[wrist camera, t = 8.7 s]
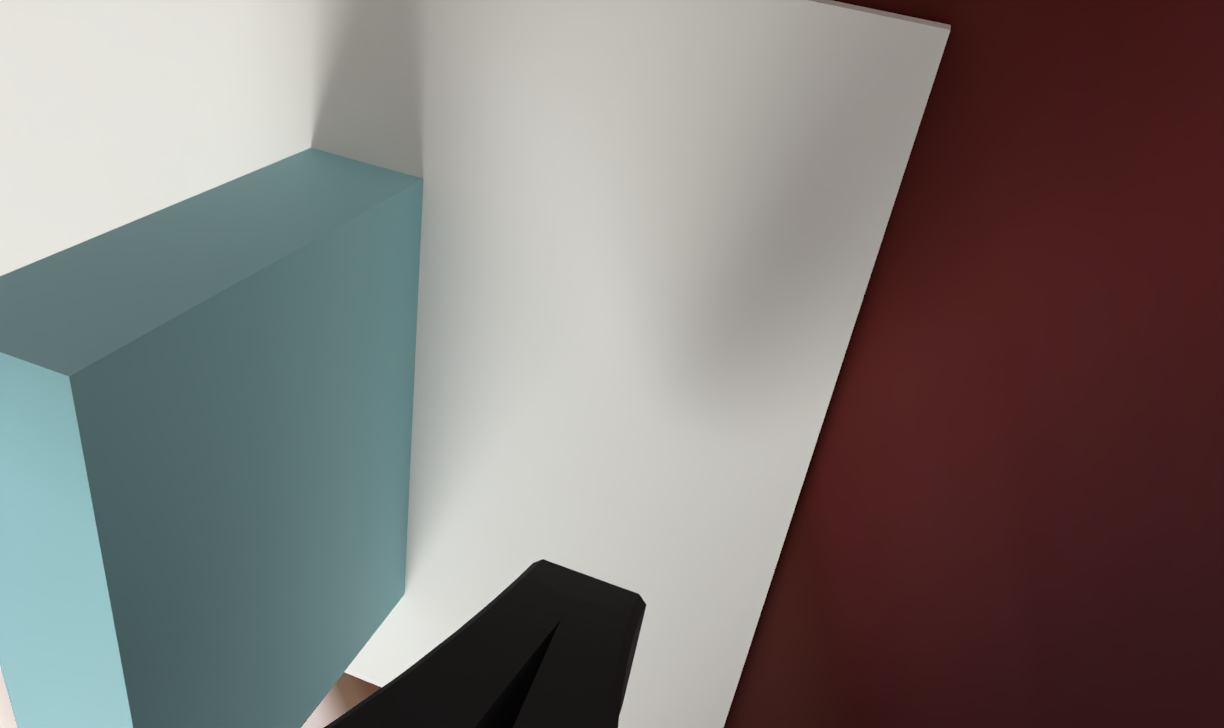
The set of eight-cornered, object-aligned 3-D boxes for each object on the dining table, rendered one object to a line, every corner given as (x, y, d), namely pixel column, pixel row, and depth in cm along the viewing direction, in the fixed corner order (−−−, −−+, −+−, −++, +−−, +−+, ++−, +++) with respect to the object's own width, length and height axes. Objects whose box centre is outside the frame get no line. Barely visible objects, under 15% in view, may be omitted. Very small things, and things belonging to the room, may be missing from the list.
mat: (700, 796, 17) (694, 814, 17) (-52, 494, 21) (-69, 504, 21) (950, 25, 10) (950, 30, 10) (-258, -227, 14) (-287, -229, 13)
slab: (404, 595, 17) (165, 902, 12) (319, 561, 17) (50, 847, 12) (423, 179, 13) (68, 377, 8) (310, 147, 13) (-98, 317, 8)
